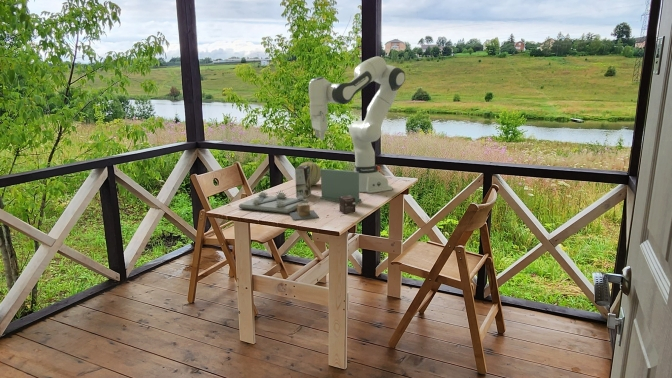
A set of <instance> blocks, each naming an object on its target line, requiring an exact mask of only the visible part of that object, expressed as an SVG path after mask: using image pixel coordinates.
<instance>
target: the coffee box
mask: <svg viewBox="0 0 672 378" xmlns="http://www.w3.org/2000/svg"><path fill="white" fill-rule="evenodd" d="M294 169H295V171H294V172H295V173H294V174H295V175H294V176H295V193H296V195H295V197H296V198H298V197H300V196H301V195H302V196H303V197H304V198H308V197H309V196H310V195H311V194H312V186H311V181H310V166H300V165H298V166H297V167H295V168H294ZM297 196H298V197H297ZM303 197H302V198H303Z"/></svg>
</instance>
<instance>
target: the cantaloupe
mask: <svg viewBox="0 0 672 378" xmlns="http://www.w3.org/2000/svg"><path fill="white" fill-rule="evenodd" d="M299 166H310V181H311V187H312V186H315V185H317V183H319V182H320V181H321V168H320V166H319V165H318V164H316V163H315V162H313V160H310V161H304V162H302V163H300V164H299Z"/></svg>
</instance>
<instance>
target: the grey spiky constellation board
mask: <svg viewBox="0 0 672 378" xmlns="http://www.w3.org/2000/svg"><path fill="white" fill-rule="evenodd" d="M266 192H267V191H263V190H262V191H259V192H258V194H257V196H256V197H254V198H252V199H250V200H247V201H244V202H242V203H240V204H239V205H238V208H239V209H242V210H243V209H244V210H251V211H252V210H253V211H263V212H269V213H270V212H272V213H281V214H289V213H290V212H295V211H296V210H297V204H298V203H308V204H309V203H310V201H309V200H308V199H305V197H303V196H302V195H301V196H300V197H298V196H297V197H296V198H295V197H287V194H286V193H285V192H284V191H283V190H278V192H276V194H275V195H274V196H271V195H269V194H268V193H266Z"/></svg>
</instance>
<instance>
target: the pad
mask: <svg viewBox="0 0 672 378" xmlns="http://www.w3.org/2000/svg"><path fill="white" fill-rule="evenodd" d="M288 214H289V216H290V217H291V219H292V220H295V221H301V220H303V221H305V220H312V219H320V216H319V215H318V214H317V212H316V211H315V210H311V209H310V216H299V215H298V211H292V212H290V213H288Z"/></svg>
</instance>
